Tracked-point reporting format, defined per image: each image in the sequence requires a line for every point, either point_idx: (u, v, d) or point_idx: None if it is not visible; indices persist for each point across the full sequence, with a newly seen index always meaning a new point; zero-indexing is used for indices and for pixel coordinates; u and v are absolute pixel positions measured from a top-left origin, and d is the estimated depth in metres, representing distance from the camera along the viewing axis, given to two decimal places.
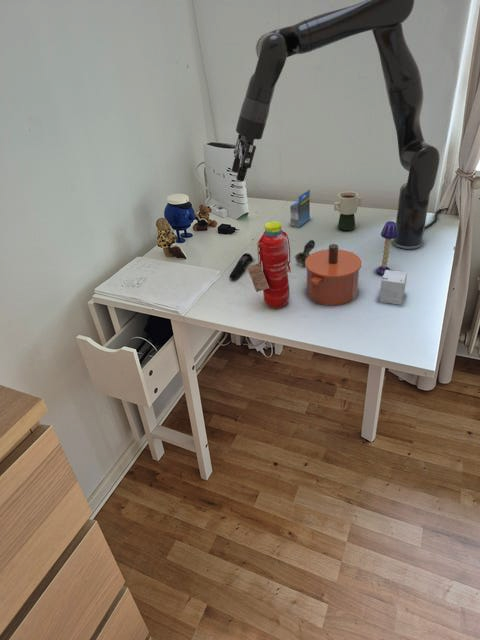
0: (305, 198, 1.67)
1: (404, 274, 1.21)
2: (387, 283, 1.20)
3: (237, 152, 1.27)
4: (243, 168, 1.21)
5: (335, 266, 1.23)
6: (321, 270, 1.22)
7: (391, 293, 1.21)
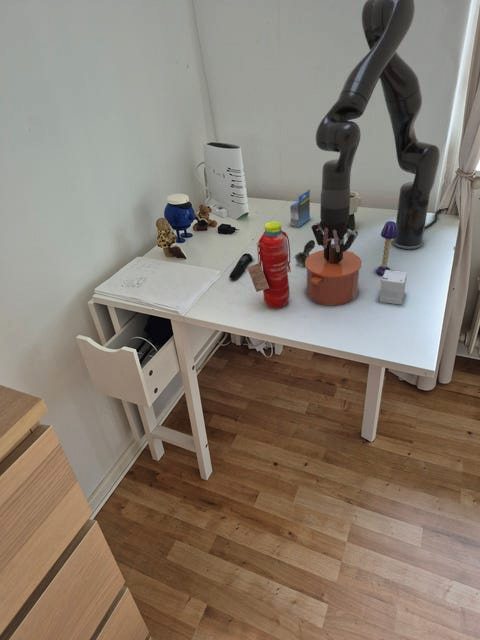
0: (305, 198, 1.67)
1: (404, 274, 1.21)
2: (387, 283, 1.20)
3: (327, 240, 1.21)
4: (341, 251, 1.21)
5: (335, 266, 1.23)
6: (321, 270, 1.22)
7: (391, 293, 1.21)
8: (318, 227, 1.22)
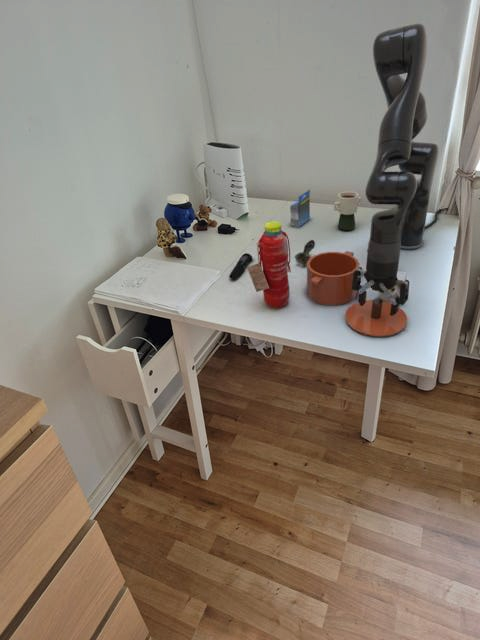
0: (305, 198, 1.67)
1: (404, 274, 1.21)
2: None
3: (366, 289, 1.13)
4: (398, 304, 1.10)
5: (379, 322, 1.15)
6: (364, 327, 1.14)
7: None
8: (361, 274, 1.13)
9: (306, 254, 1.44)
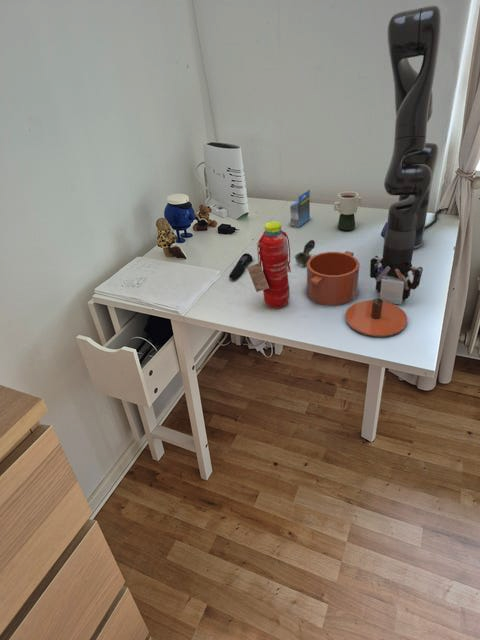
0: (305, 198, 1.67)
1: None
2: (387, 283, 1.20)
3: (383, 276, 1.22)
4: (410, 289, 1.20)
5: (379, 322, 1.15)
6: (364, 327, 1.14)
7: (391, 293, 1.21)
8: (377, 262, 1.22)
9: (306, 254, 1.44)
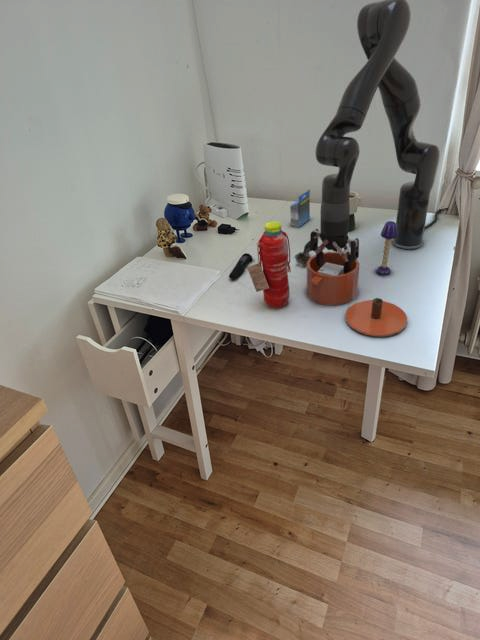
0: (305, 198, 1.67)
1: (341, 267, 1.26)
2: None
3: (322, 249, 1.24)
4: (350, 261, 1.21)
5: (379, 322, 1.15)
6: (364, 327, 1.14)
7: None
8: (317, 235, 1.23)
9: (306, 254, 1.44)
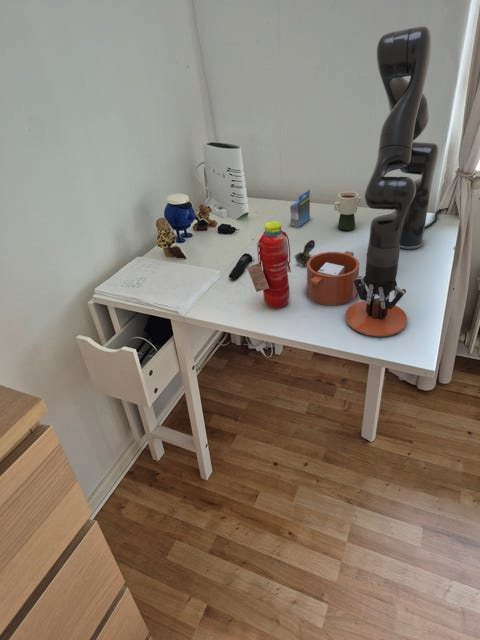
0: (305, 198, 1.67)
1: (341, 267, 1.26)
2: None
3: (372, 296, 1.13)
4: (387, 308, 1.13)
5: (379, 322, 1.15)
6: (364, 327, 1.14)
7: None
8: (361, 282, 1.14)
9: (306, 254, 1.44)
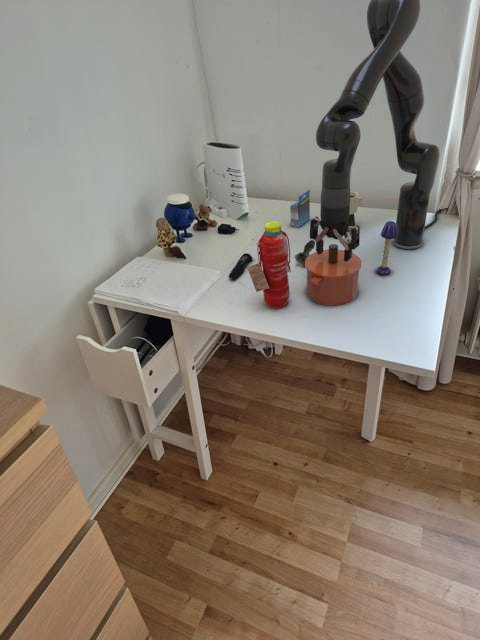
0: (305, 198, 1.67)
1: None
2: None
3: (322, 237, 1.22)
4: (351, 249, 1.19)
5: (335, 266, 1.23)
6: (321, 270, 1.22)
7: None
8: (317, 223, 1.21)
9: (306, 254, 1.44)
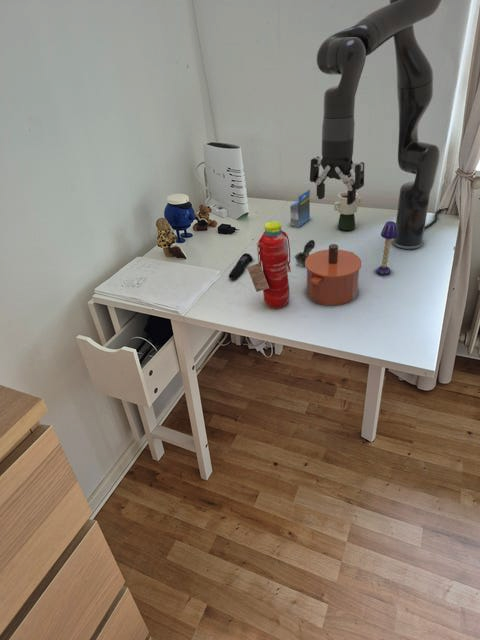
0: (305, 198, 1.67)
1: None
2: None
3: (323, 178, 1.12)
4: (354, 190, 1.09)
5: (335, 266, 1.23)
6: (321, 270, 1.22)
7: None
8: (318, 163, 1.12)
9: (306, 254, 1.44)
